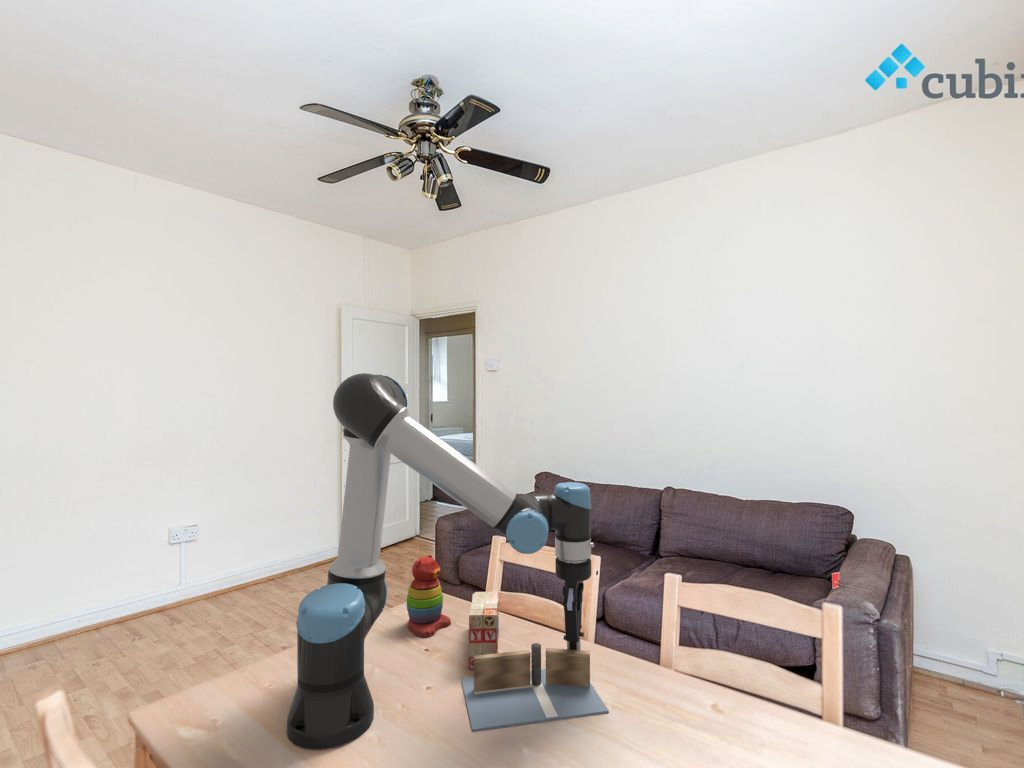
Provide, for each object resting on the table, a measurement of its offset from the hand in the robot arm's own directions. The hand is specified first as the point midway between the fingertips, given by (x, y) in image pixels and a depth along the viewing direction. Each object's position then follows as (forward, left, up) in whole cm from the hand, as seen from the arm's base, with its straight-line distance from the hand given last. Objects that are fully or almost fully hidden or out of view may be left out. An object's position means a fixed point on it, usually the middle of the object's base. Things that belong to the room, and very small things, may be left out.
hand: (573, 668), depth 111 cm
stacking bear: (-29, +33, -3) cm, 44 cm away
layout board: (-10, -4, -2) cm, 11 cm away
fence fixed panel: (-14, 0, -2) cm, 14 cm away
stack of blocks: (-16, +19, -3) cm, 25 cm away
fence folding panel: (-2, -3, -1) cm, 4 cm away
